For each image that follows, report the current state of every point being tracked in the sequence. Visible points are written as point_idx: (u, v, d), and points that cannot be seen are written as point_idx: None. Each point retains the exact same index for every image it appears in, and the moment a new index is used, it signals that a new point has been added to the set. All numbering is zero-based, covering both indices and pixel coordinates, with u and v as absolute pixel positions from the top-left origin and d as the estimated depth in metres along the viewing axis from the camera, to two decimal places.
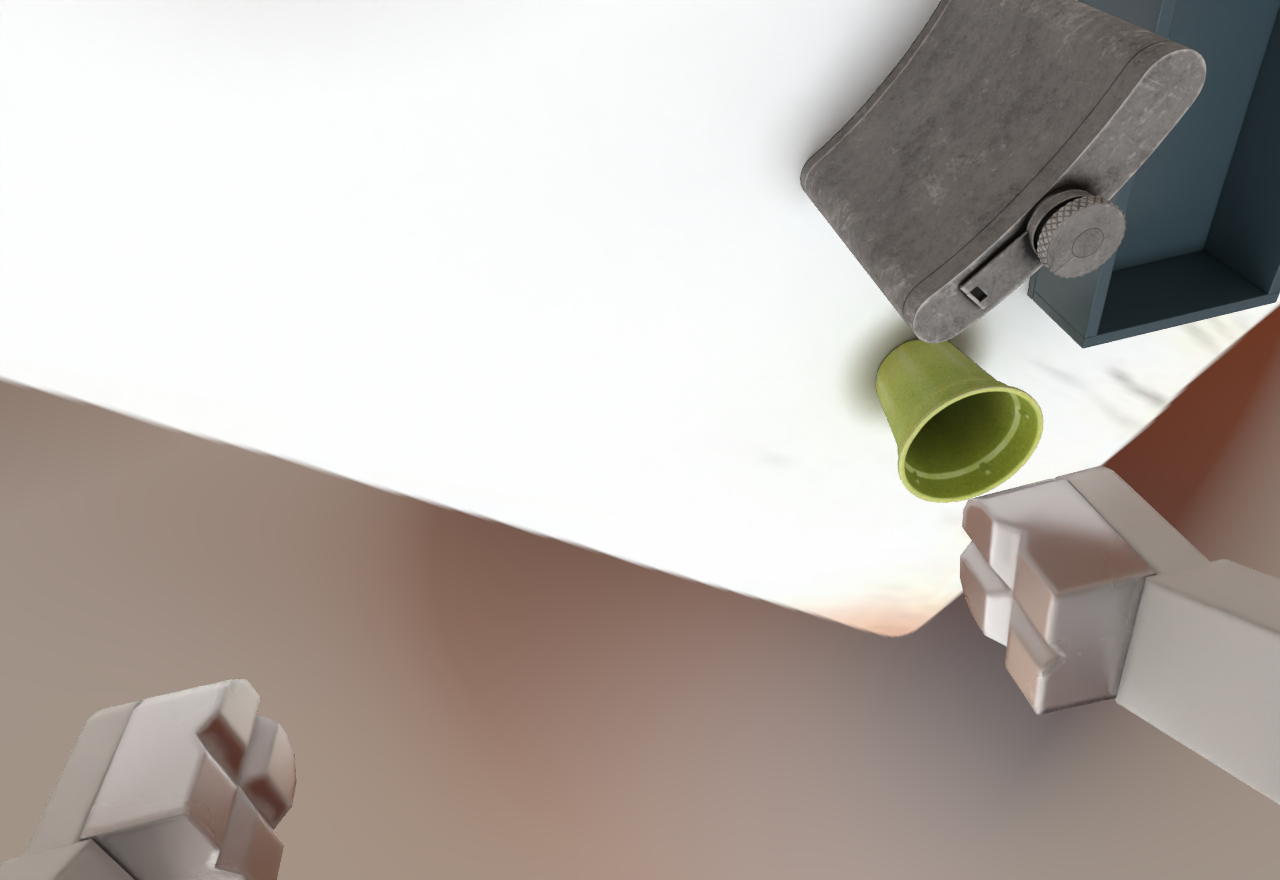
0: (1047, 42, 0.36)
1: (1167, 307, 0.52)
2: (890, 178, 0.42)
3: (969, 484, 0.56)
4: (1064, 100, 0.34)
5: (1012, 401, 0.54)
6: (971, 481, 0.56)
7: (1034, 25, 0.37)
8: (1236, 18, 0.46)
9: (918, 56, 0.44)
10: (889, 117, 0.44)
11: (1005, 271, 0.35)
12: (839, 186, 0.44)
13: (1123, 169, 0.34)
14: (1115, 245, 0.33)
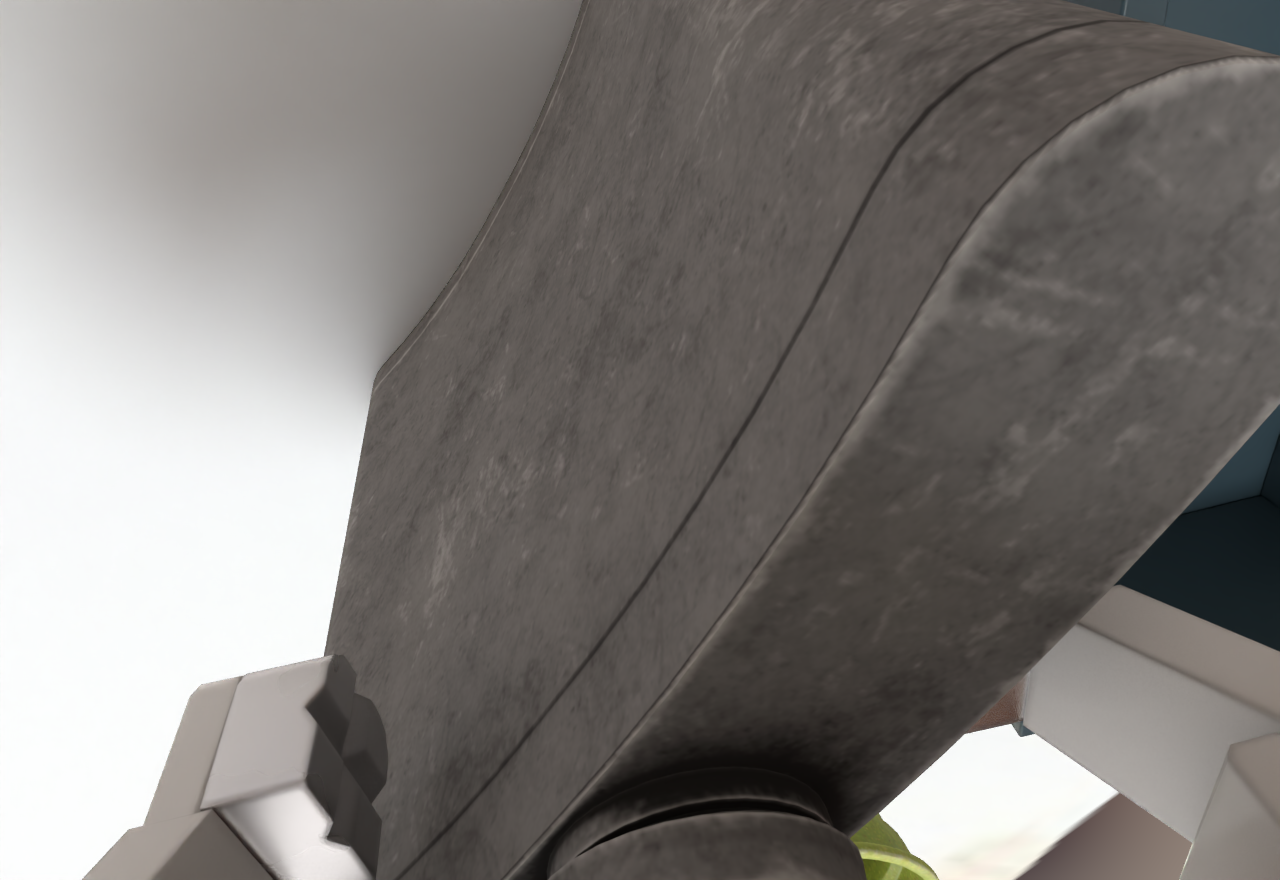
0: (686, 85, 0.10)
1: None
2: (418, 472, 0.15)
3: None
4: (690, 324, 0.08)
5: None
6: None
7: (671, 30, 0.11)
8: None
9: (539, 140, 0.18)
10: (475, 290, 0.18)
11: None
12: (369, 460, 0.18)
13: (960, 675, 0.07)
14: None
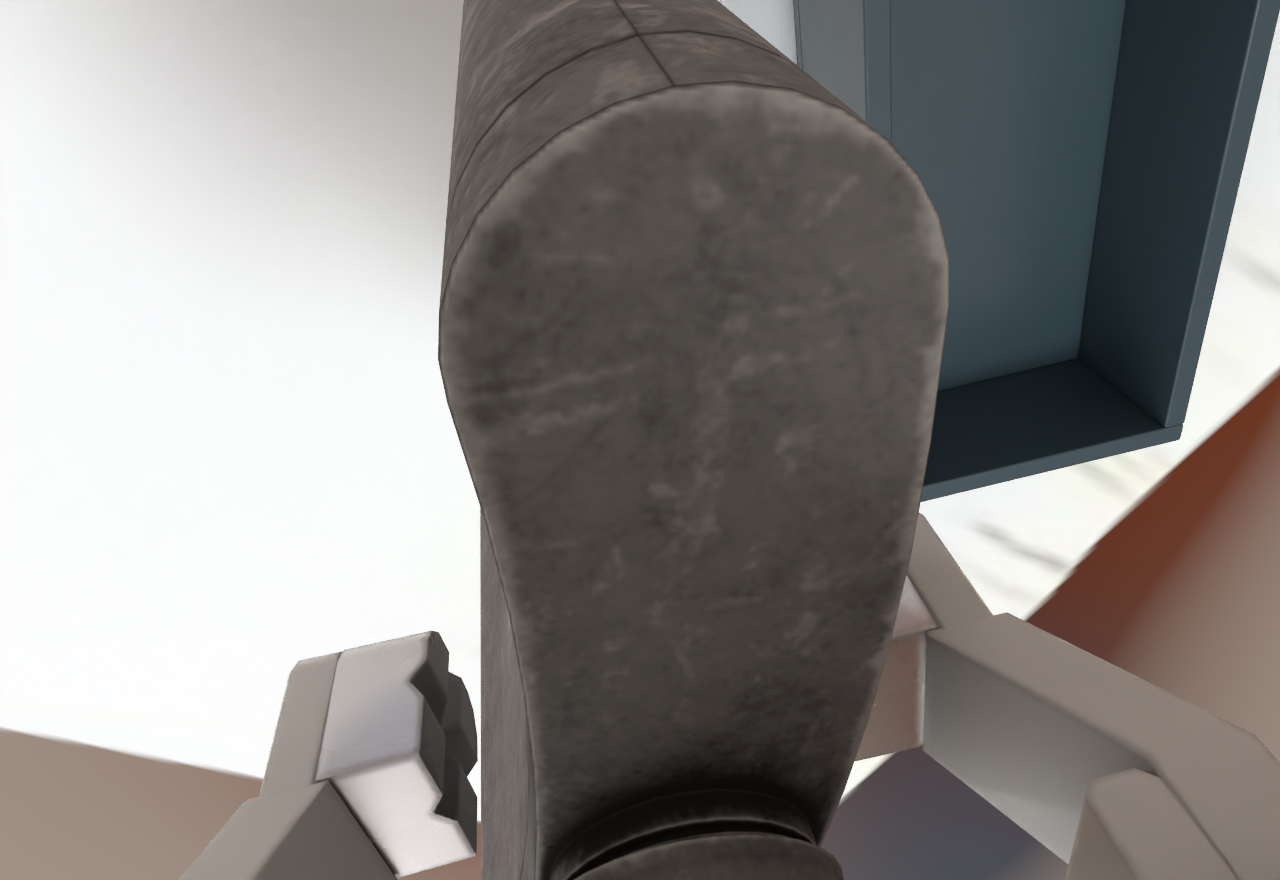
0: None
1: (1010, 448, 0.34)
2: None
3: None
4: None
5: None
6: None
7: None
8: (1060, 5, 0.29)
9: None
10: None
11: None
12: None
13: (814, 672, 0.07)
14: None
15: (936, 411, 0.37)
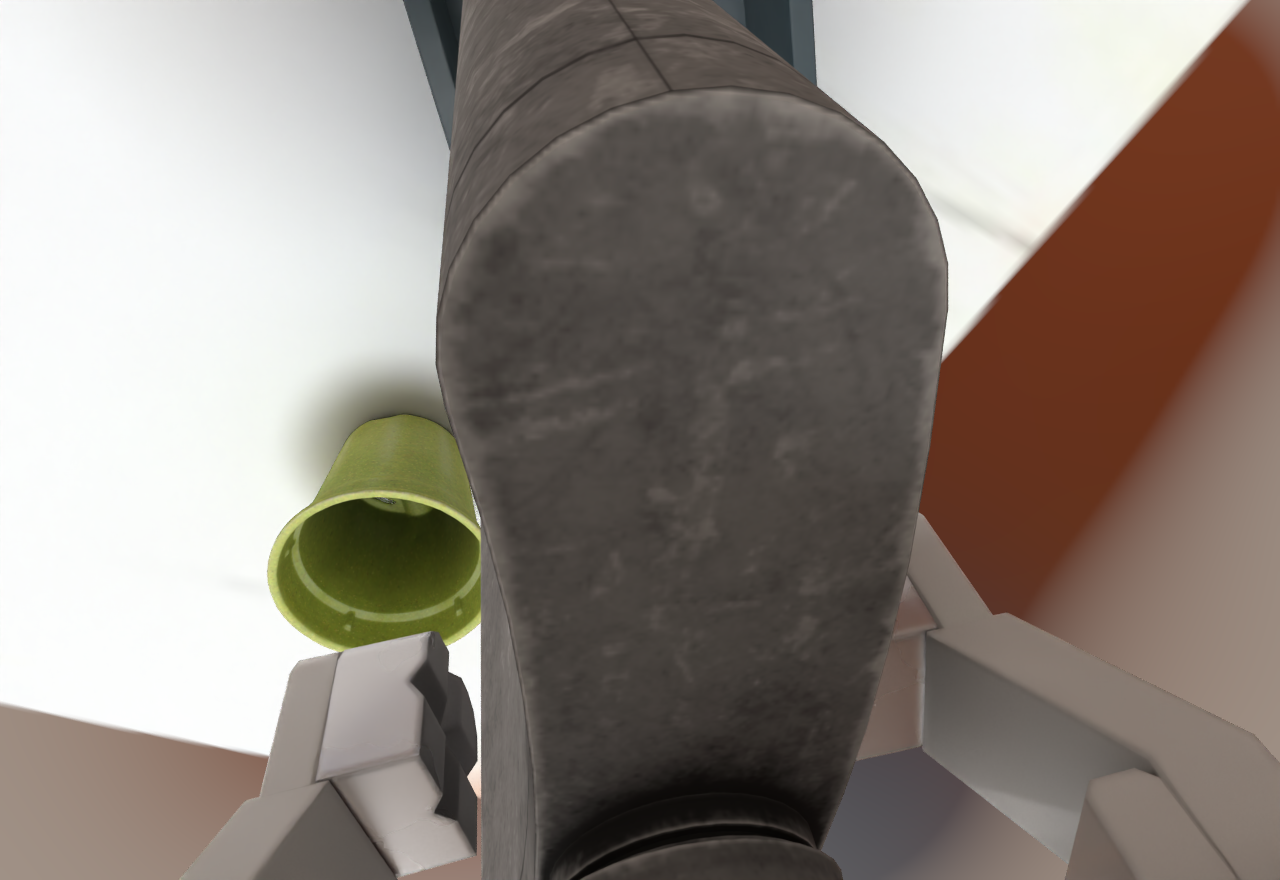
0: None
1: None
2: None
3: None
4: None
5: None
6: (439, 626, 0.38)
7: None
8: None
9: None
10: None
11: None
12: None
13: (813, 673, 0.07)
14: None
15: None
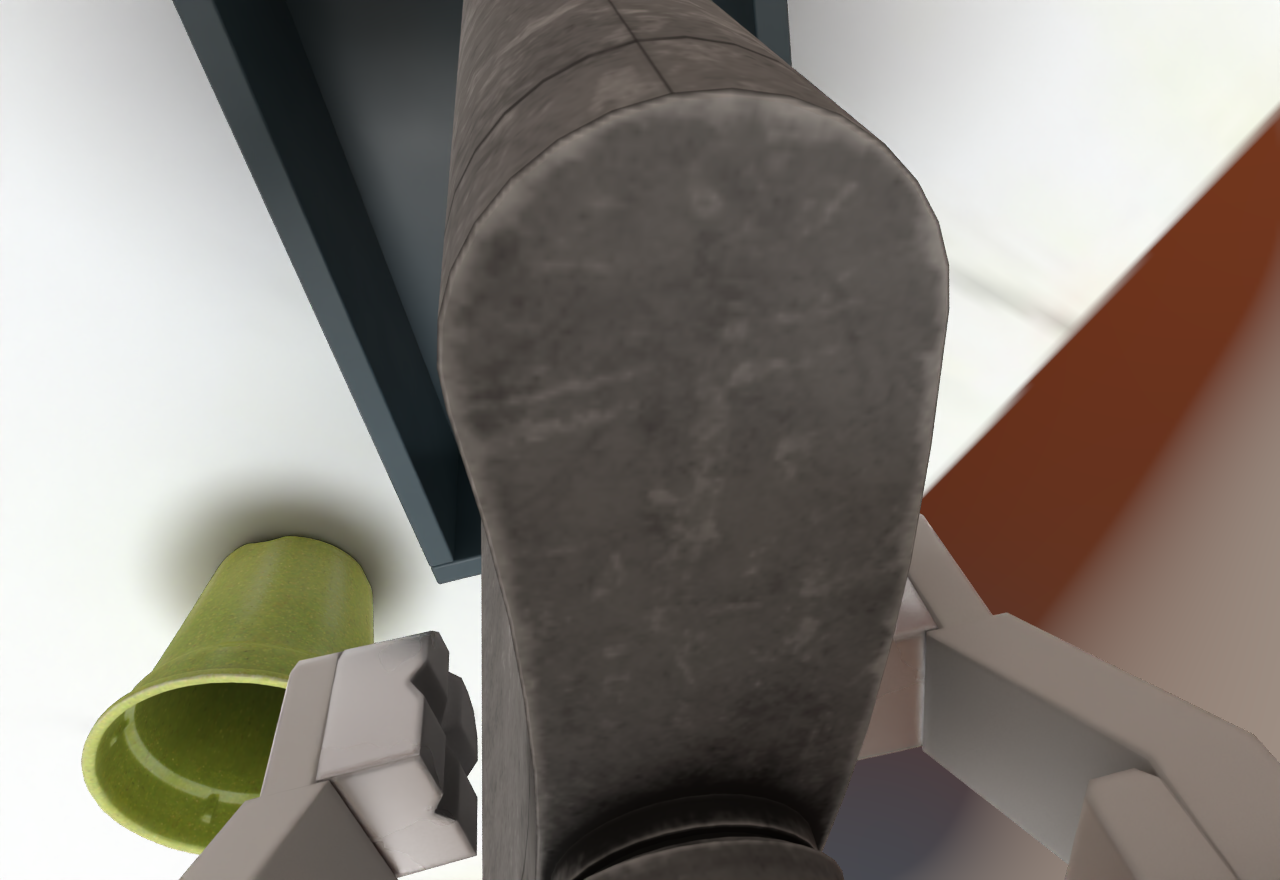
0: None
1: None
2: None
3: None
4: None
5: None
6: None
7: None
8: None
9: None
10: None
11: None
12: None
13: (815, 676, 0.07)
14: None
15: None
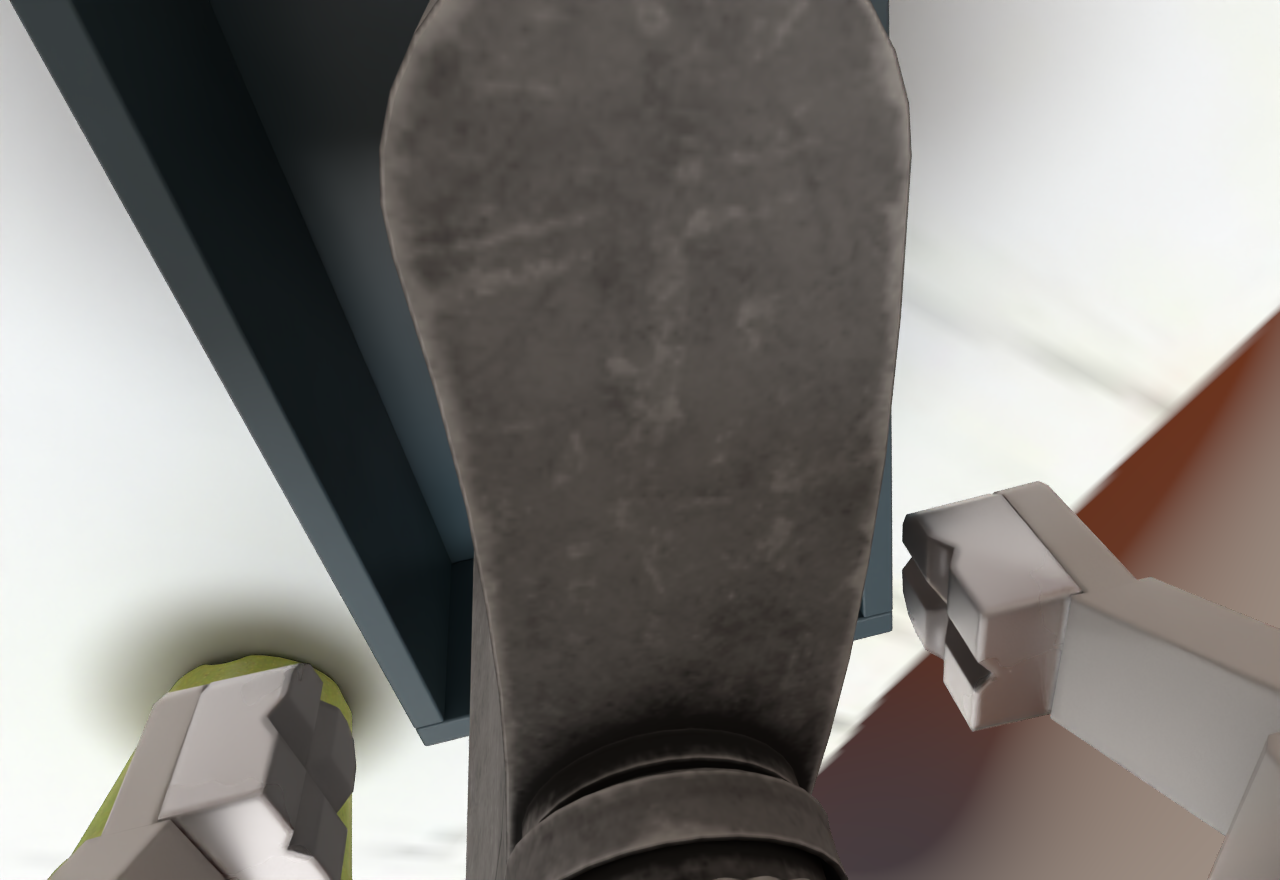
0: None
1: None
2: None
3: None
4: None
5: None
6: None
7: None
8: None
9: None
10: None
11: None
12: None
13: (791, 589, 0.06)
14: None
15: None
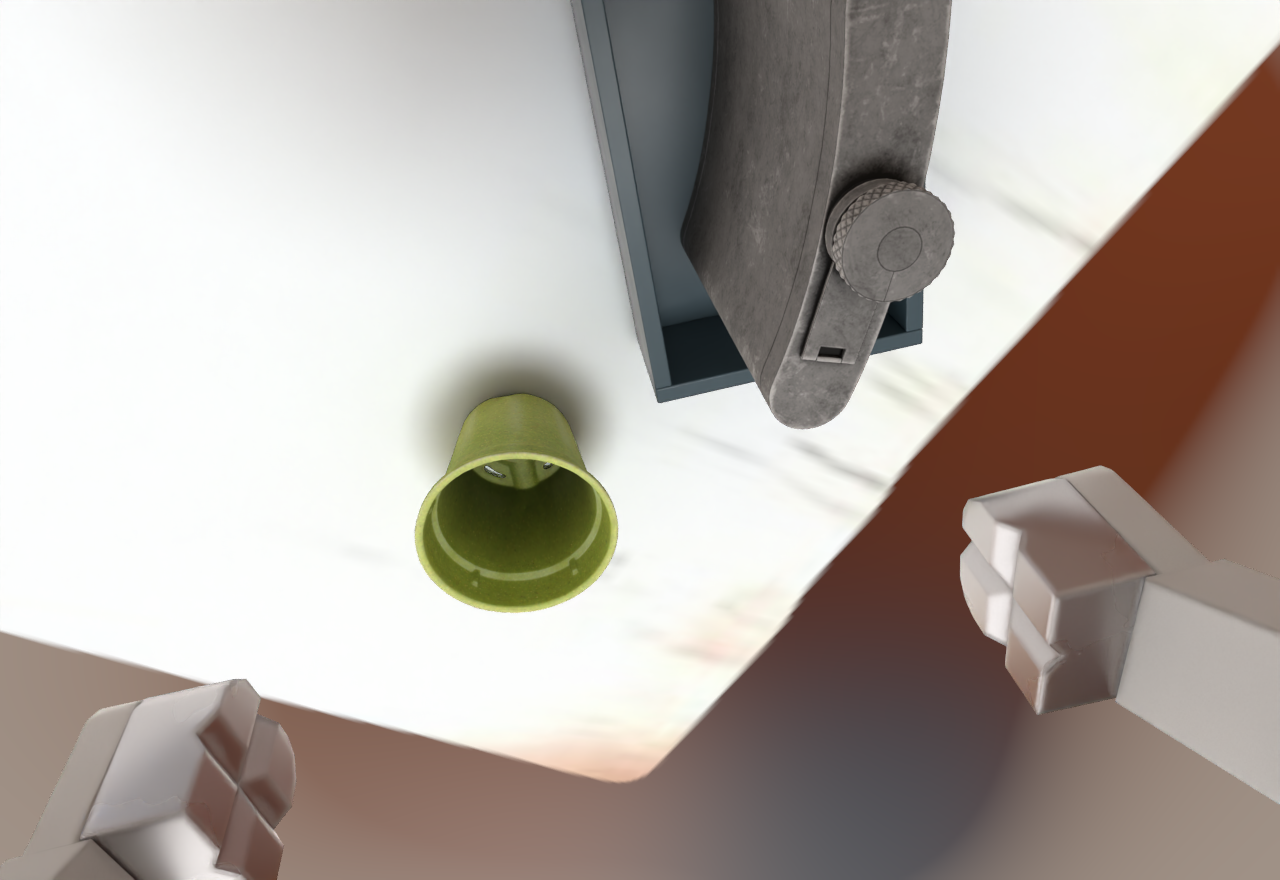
0: (778, 6, 0.27)
1: None
2: (730, 231, 0.33)
3: (551, 588, 0.42)
4: (808, 74, 0.25)
5: None
6: (556, 584, 0.42)
7: None
8: None
9: (719, 68, 0.35)
10: (718, 152, 0.36)
11: (844, 314, 0.26)
12: (701, 255, 0.37)
13: (917, 122, 0.23)
14: (946, 229, 0.23)
15: None
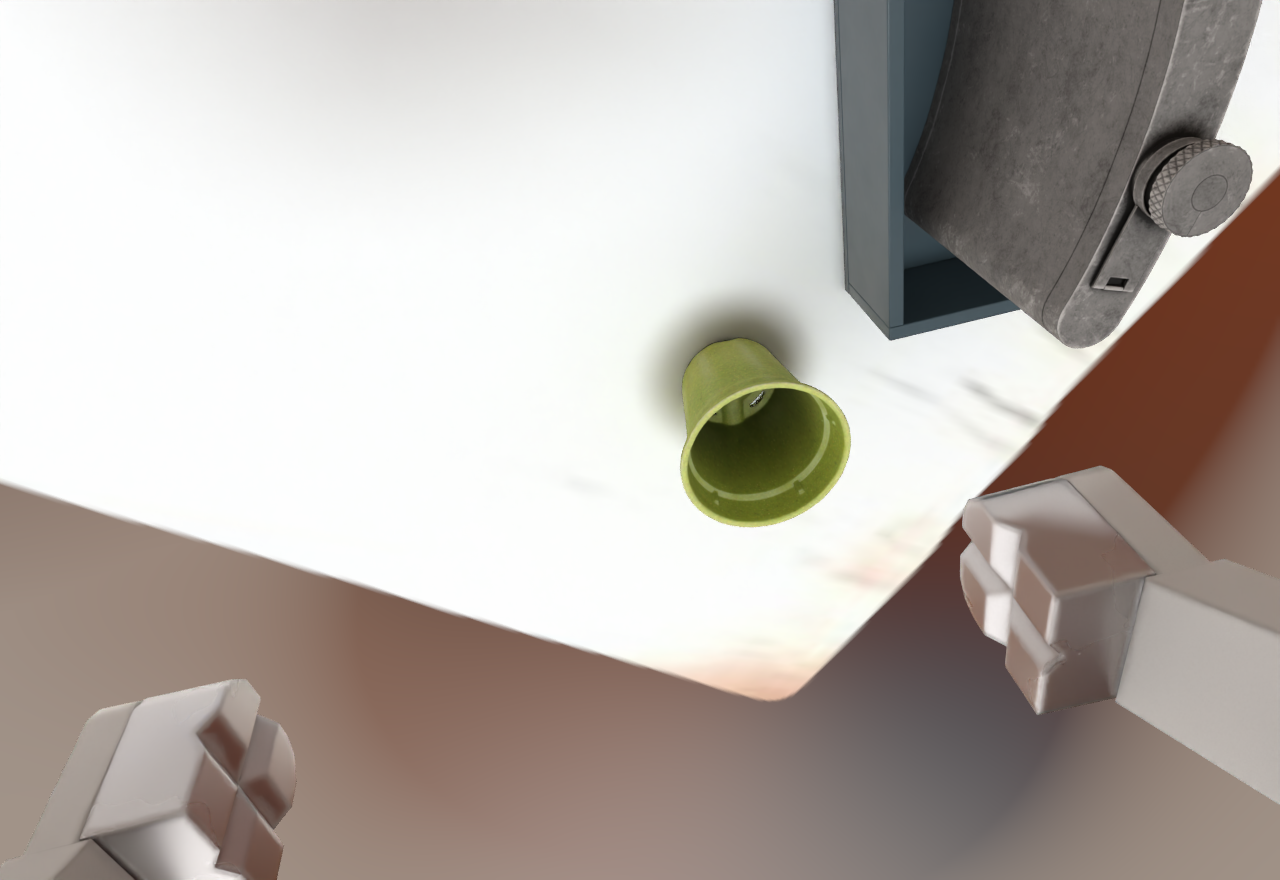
0: None
1: (989, 294, 0.45)
2: (980, 187, 0.39)
3: (780, 506, 0.48)
4: (1114, 53, 0.31)
5: (818, 406, 0.46)
6: (783, 503, 0.48)
7: None
8: None
9: (958, 47, 0.41)
10: (955, 120, 0.41)
11: (1135, 249, 0.32)
12: (936, 210, 0.42)
13: (1218, 91, 0.29)
14: (1246, 176, 0.29)
15: (934, 274, 0.48)
